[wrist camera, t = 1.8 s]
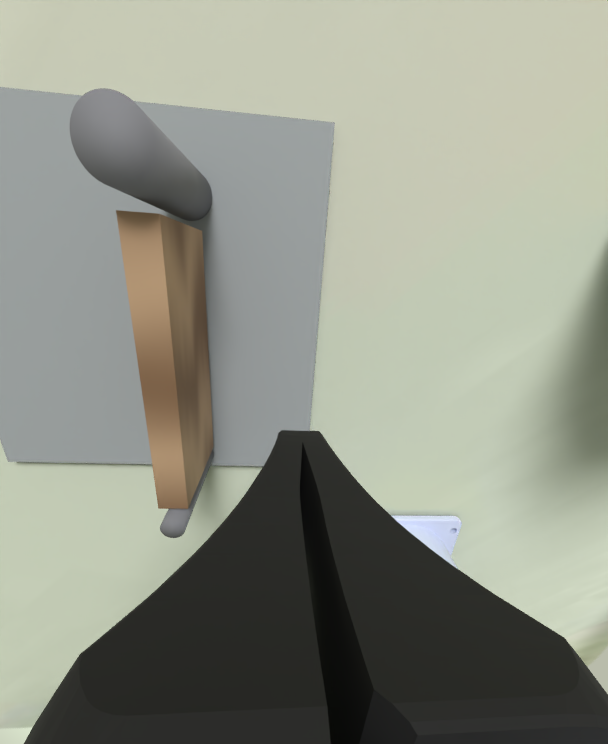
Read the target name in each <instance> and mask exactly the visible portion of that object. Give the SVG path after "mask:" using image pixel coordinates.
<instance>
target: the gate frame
mask: <svg viewBox="0 0 608 744" xmlns="http://www.w3.org/2000/svg"><path fill="white" fill-rule="evenodd" d="M334 124H335V123H334V122H324V121H315V120H306V119H296V118H287V117H277V116H268V115H259V114H249V113H240V112H230V111H221V110H212V109H202V108H193V107H183V106H174V105H165V104H155V103H146V102H136V101H133V100H131V99H130V98H129V97H127V96H126V95H124V94H122V93H120V92H118V91H115V90H111V89H95V90H92V91H89V92H87V93H85V94H84V95H83V96H80V95H70V94H61V93H52V92H42V91H33V90H23V89H14V88H5V87H0V440H1V443H2V446H3V449H4V452H5V455H6V457H7V460H8V462H52V463H108V464H152V459H151V452H150V445H149V438H148V431H147V424H146V417H145V410H144V403H143V396H142V389H141V382H140V375H139V368H138V361H137V354H136V347H135V340H134V333H133V326H132V319H131V312H130V305H129V298H128V291H127V284H126V277H125V270H124V263H123V256H122V249H121V242H120V235H119V228H118V221H117V214H116V210H120V211H132V212H145V213H157V214H161V215H164V216H166V217H169V218H171V219H174V220H176V221H179V222H181V223H184V224H186V225H188V226H191V227H193V228H196V229H198V230H201V231H202V237H203V256H204V275H205V294H206V313H207V332H208V351H209V370H210V389H211V408H212V428H213V449H212V452H211V454H210V456H209V459H208V461H207V464H206V466H205V469H204V471H203V474H202V476H201V478H200V481H199V483H198V486H197V488H196V491H195V493H194V495H193V498H192V500H191V503H190V505H189V508H188V509H168V511H167V513H166V516H165V518H164V520H163V522H162V524H161V526H160V530H161V532H162V533H163V534H164V535H165V536H167V537H170V538H177V537H180V536H182V535H183V534H184V532H185V529H186V526H187V524H188V521H189V519H190V516H191V514H192V511H193V508H194V506H195V503H196V501H197V498H198V496H199V493H200V490H201V488H202V485H203V483H204V480H205V478H206V475H207V472H208V470H209V467H210V465H221V466H264V464H265V463H266V461H267V459H268V457H269V455H270V453H271V451H272V449H273V447H274V445H275V442H276V440H277V436H278V433H279V432H280V431H281V430H294V431H309V430H310V417H311V405H312V393H313V381H314V369H315V356H316V344H317V332H318V320H319V307H320V295H321V283H322V271H323V259H324V246H325V234H326V222H327V210H328V197H329V185H330V173H331V161H332V149H333V136H334Z"/></svg>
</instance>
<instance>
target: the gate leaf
mask: <svg viewBox="0 0 608 744" xmlns="http://www.w3.org/2000/svg"><path fill="white" fill-rule="evenodd" d="M116 214H117V221H118V228H119V235H120V242H121V249H122V256H123V263H124V270H125V277H126V284H127V291H128V298H129V305H130V312H131V319H132V326H133V333H134V340H135V347H136V354H137V361H138V368H139V375H140V382H141V389H142V396H143V403H144V410H145V417H146V424H147V431H148V438H149V445H150V452H151V459H152V466H153V473H154V480H155V487H156V494H157V501H158V508H165V509H188V508H189V505H190V503H191V500H192V498H193V495H194V493H195V491H196V488H197V486H198V483H199V481H200V478H201V476H202V474H203V471H204V469H205V466H206V464H207V461H208V459H209V456H210V454H211V452H212V449H213V428H212V408H211V389H210V370H209V351H208V332H207V313H206V294H205V275H204V256H203V237H202V231H201V230H198V229H196V228H193V227H191V226H188V225H186V224H184V223H181V222H179V221H176V220H174V219H171V218H169V217H166V216H164V215H161V214H157V213H145V212H132V211H120V210H116Z"/></svg>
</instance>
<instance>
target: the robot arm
mask: <svg viewBox="0 0 608 744" xmlns="http://www.w3.org/2000/svg"><path fill="white" fill-rule="evenodd" d="M461 525H462V523H461V521H460V519H459V518H458V517H457V516H391V515H390V514H389V513H387V512H386V511H385V510H384V509H383V508H382V507H381V506H380V505H379V504H378V503H377V502H376V501H375V500H374V499H373V498H372V497H371V496H370V495H369V494H368V493H367V492H366V490H365V489H364V488H363V487H362V486H361V485H360V484H359V483H358V482H357V480H356V479H355V478H354V477H353V476H352V475H351V473H350V472H349V471H348V470H347V468H346V467H345V466H344V465H343V463H342V462H341V461H340V460H339V458H338V457H337V456H336V454H335V453H334V451H333V450H332V449H331V447H330V446H329V444H328V443H327V441H326V440H325V438H324V437H323V435H322V434H321V433H320V432H319V431H294V430H281V431H280V432H279V433H278V436H277V440H276V442H275V445H274V447H273V449H272V451H271V453H270V455H269V457H268V459H267V461H266V463H265V464H264V466H263V468H262V470H261V471H260V473H259V475H258V476H257V478H256V479H255V481H254V482H253V484H252V485H251V487H250V488H249V490H248V491H247V493H246V494H245V495H244V497H243V498H242V499H241V501H240V502H239V503H238V505H237V506H236V507H235V509H234V510H233V511H232V512H231V513H230V515H229V516H228V517H227V518H226V520H225V521H224V522H223V523H222V524H221V525H220V526H219V527H218V529H217V530H216V531H215V532H214V533H213V534H212V535H211V536H210V538H209V539H208V540H207V541H206V542H205V543H204V544H203V545H202V546H201V547H200V548H199V549H198V550H197V551H196V552H195V553H194V554H193V555H192V556H191V557H190V558H189V559H188V560H187V561H186V562H185V563H184V564H183V565H182V566H181V567H180V568H179V569H178V570H177V571H176V572H175V573H174V574H173V575H171V576H170V577H169V578H168V579H167V580H166V581H165V582H164V583H163V584H162V585H161V586H160V587H159V588H158V589H157V590H156V591H154V592H153V593H152V594H151V595H150V596H149V597H148V598H147V599H146V600H144V601H143V602H142V603H141V604H140V605H138V606H137V607H136V608H135V609H134V610H132V611H131V612H130V613H129V614H128V615H127V616H125V617H124V618H123V619H122V620H121V621H119V622H118V623H117V624H116V625H115V626H113V627H112V628H111V629H110V630H109V631H108V632H106V633H105V634H104V635H103V636H102V637H100V638H99V639H98V640H97V641H96V642H94V643H93V644H92V645H91V646H90V647H88V648H87V649H86V650H85V651H83V652H82V653H81V654H80V655H79V657H78V658H77V660H76V661H75V663H74V664H73V666H72V667H71V669H70V670H69V672H68V673H67V675H66V676H65V678H64V679H63V681H62V683H61V684H60V686H59V687H58V689H57V690H56V692H55V693H54V695H53V697H52V698H51V700H50V701H49V703H48V704H47V706H46V707H45V709H44V711H43V712H42V714H41V715H40V717H39V718H38V720H37V721H36V723H35V725H34V726H33V728H32V730H31V732H30V734H29V735H28V737H27V739H26V741H25V743H24V744H608V694H607V693H606V692H605V690H604V689H603V688H602V686H601V685H600V684H599V682H598V681H597V680H596V678H595V677H594V676H593V674H592V673H591V672H590V670H589V669H588V668H587V666H586V665H585V664H584V662H583V661H582V660H581V658H580V657H579V656H578V654H577V653H576V652H575V651H574V649H573V648H572V647H571V646H570V644H569V643H568V642H567V641H566V639H565V638H564V637H562V636H560V635H559V634H557V633H556V632H554V631H552V630H551V629H549V628H548V627H546V626H544V625H543V624H541V623H540V622H538V621H536V620H535V619H533V618H532V617H530V616H528V615H527V614H525V613H524V612H522V611H520V610H519V609H517V608H516V607H514V606H512V605H511V604H509V603H507V602H506V601H504V600H503V599H501V598H499V597H498V596H496V595H495V594H493V593H492V592H490V591H489V590H487V589H486V588H484V587H483V586H481V585H480V584H478V583H477V582H476V581H474V580H473V579H471V578H470V577H468V576H467V575H465V574H464V573H463V572H461V571H460V570H458V568H457V566H456V564H455V563H454V561H453V559H452V557H451V555H452V552H453V549H454V546H455V543H456V540H457V537H458V534H459V531H460V528H461Z"/></svg>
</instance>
